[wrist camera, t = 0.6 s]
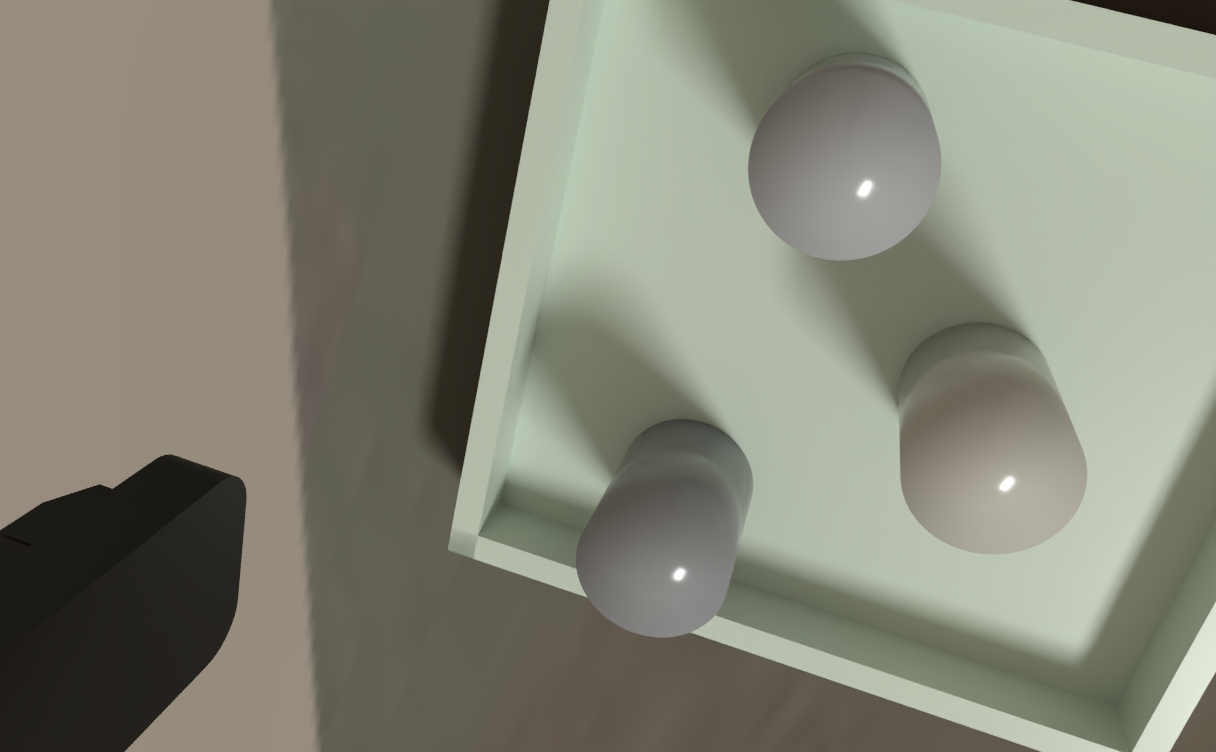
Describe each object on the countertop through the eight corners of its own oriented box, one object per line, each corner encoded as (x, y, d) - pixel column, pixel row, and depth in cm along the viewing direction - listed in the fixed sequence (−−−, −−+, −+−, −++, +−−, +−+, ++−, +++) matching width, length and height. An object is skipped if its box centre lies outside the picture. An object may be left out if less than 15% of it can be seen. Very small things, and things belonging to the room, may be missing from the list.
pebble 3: (926, 304, 27) (934, 372, 22) (1077, 347, 26) (1117, 426, 22) (879, 434, 28) (877, 523, 24) (1020, 477, 28) (1046, 576, 23)
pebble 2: (797, 34, 25) (777, 49, 21) (954, 74, 25) (969, 98, 20) (754, 187, 27) (727, 232, 22) (901, 228, 26) (904, 282, 22)
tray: (605, -110, 26) (571, -119, 23) (1462, 95, 23) (1537, 112, 21) (483, 502, 33) (447, 549, 31) (1125, 714, 30) (1148, 787, 28)
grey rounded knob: (638, 402, 30) (593, 480, 25) (769, 442, 29) (747, 530, 25) (609, 515, 31) (562, 608, 27) (733, 555, 31) (706, 657, 26)
